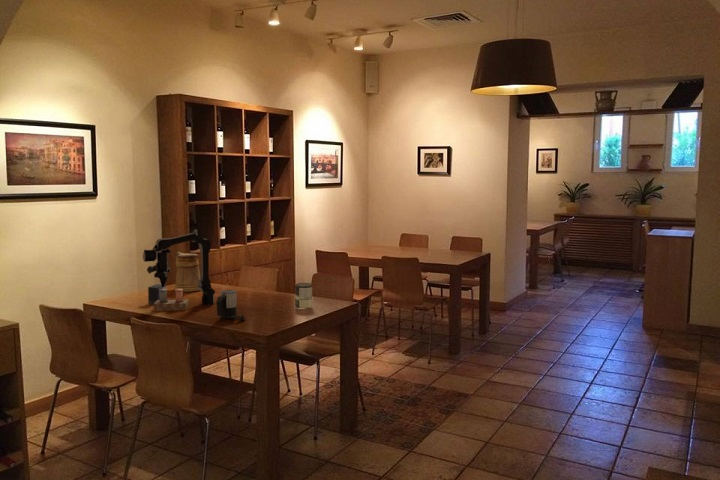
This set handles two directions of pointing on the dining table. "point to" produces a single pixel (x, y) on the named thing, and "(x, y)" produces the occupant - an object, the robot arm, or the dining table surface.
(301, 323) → the dining table surface
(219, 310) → the milk frother
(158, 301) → the socket block
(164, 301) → the grey plug
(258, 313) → the dining table surface
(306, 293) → the coffee can
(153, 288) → the small box
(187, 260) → the tankard
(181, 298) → the brick plug
